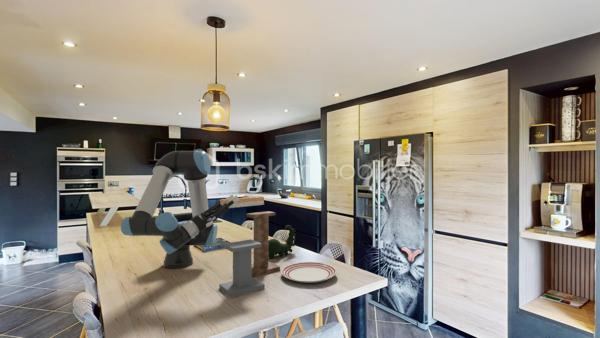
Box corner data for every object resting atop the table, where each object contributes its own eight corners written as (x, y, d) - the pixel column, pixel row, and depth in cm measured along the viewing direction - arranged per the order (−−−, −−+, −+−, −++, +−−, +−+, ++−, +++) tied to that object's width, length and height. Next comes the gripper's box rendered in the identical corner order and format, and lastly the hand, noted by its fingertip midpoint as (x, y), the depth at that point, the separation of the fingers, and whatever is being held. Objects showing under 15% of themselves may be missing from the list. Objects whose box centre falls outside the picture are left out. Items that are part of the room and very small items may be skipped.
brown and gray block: (223, 208, 145) (223, 200, 145) (220, 207, 148) (220, 199, 148) (263, 204, 159) (263, 196, 159) (259, 203, 162) (259, 196, 162)
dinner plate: (296, 291, 134) (296, 283, 134) (272, 272, 159) (272, 266, 159) (347, 281, 147) (347, 274, 147) (318, 264, 171) (318, 258, 171)
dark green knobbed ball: (287, 253, 199) (257, 258, 181) (289, 223, 200) (259, 225, 182) (297, 256, 193) (268, 261, 174) (299, 225, 194) (270, 227, 176)
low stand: (231, 297, 127) (231, 249, 127) (219, 288, 136) (219, 243, 136) (264, 288, 137) (264, 243, 137) (251, 280, 146) (251, 238, 146)
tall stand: (253, 276, 151) (253, 215, 151) (241, 270, 161) (241, 213, 161) (280, 270, 161) (280, 213, 161) (267, 264, 170) (268, 210, 170)
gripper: (192, 229, 147) (231, 202, 159) (206, 236, 133) (247, 205, 145) (184, 217, 144) (224, 189, 157) (197, 222, 131) (240, 191, 143)
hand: (235, 197), depth 151 cm, fingers closed on brown and gray block, 4 cm apart
